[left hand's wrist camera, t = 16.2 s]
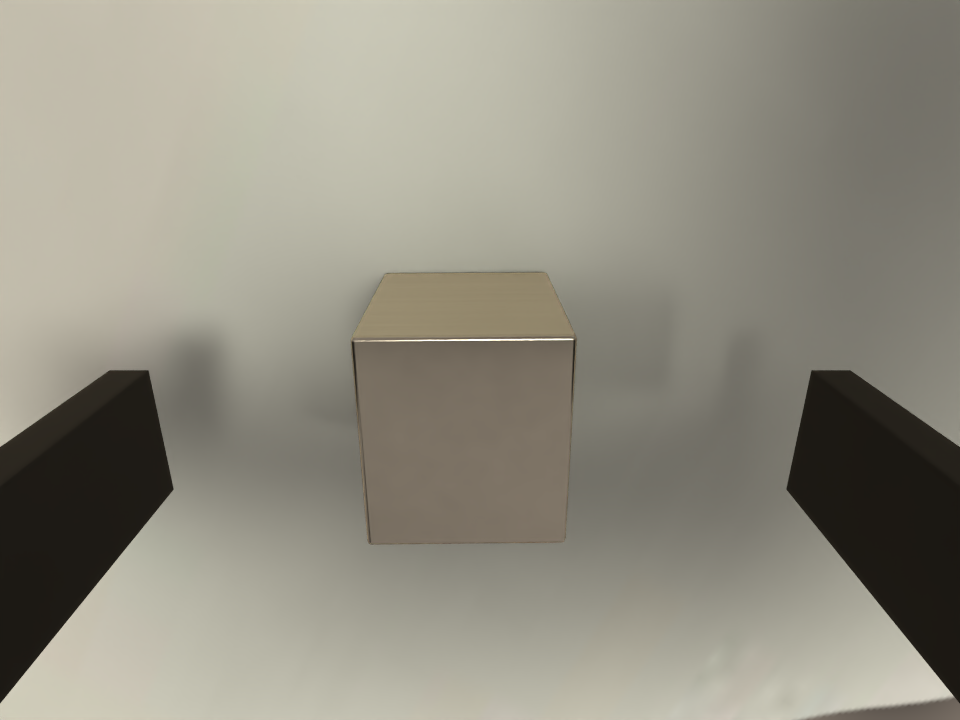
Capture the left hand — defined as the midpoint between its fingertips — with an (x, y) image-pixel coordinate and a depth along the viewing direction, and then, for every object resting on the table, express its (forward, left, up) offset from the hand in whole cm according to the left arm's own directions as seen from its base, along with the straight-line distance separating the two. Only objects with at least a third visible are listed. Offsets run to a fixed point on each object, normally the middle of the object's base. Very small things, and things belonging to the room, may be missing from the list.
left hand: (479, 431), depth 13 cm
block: (0, 0, -4) cm, 4 cm away
